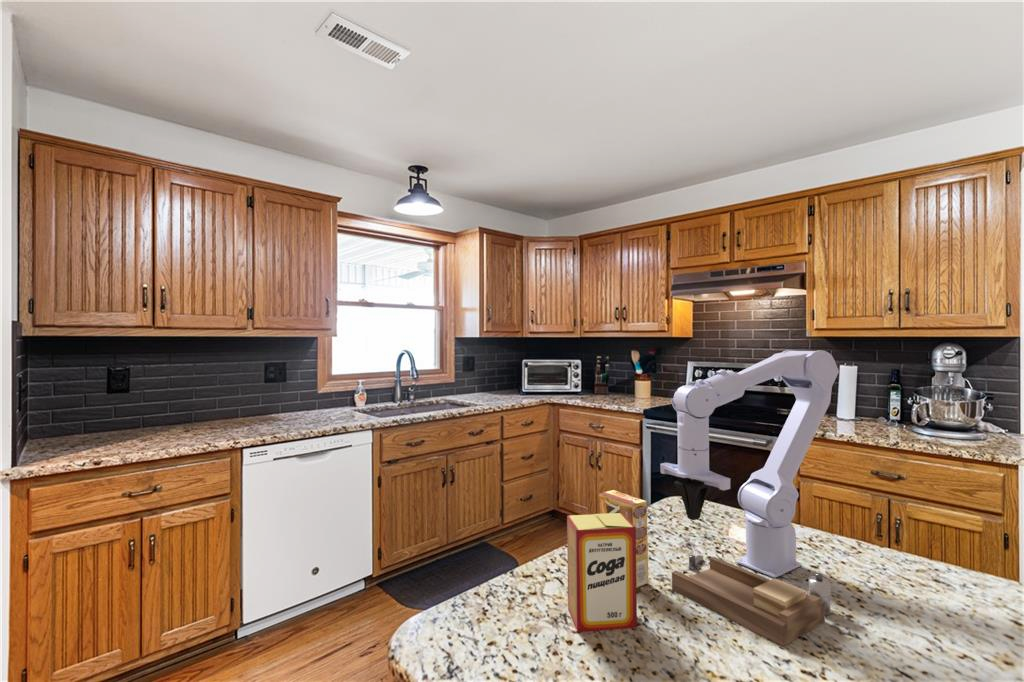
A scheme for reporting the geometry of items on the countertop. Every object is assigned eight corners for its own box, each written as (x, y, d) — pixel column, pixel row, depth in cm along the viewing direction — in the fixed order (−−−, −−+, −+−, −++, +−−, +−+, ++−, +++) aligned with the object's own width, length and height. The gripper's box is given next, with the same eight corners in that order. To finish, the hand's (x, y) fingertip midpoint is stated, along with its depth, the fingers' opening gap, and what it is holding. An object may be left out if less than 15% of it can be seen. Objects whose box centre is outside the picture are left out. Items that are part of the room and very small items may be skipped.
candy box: (649, 583, 90) (648, 500, 90) (633, 590, 88) (632, 504, 88) (614, 566, 98) (613, 489, 98) (599, 571, 95) (598, 492, 95)
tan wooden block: (775, 602, 81) (775, 578, 81) (807, 616, 77) (806, 590, 77) (753, 613, 78) (752, 588, 78) (784, 628, 74) (784, 602, 74)
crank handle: (697, 559, 101) (697, 546, 101) (703, 561, 100) (703, 547, 100) (688, 570, 96) (688, 556, 96) (694, 571, 95) (694, 557, 95)
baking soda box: (577, 632, 75) (576, 527, 76) (568, 609, 82) (567, 513, 82) (636, 627, 76) (635, 524, 76) (623, 605, 83) (621, 510, 83)
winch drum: (814, 604, 83) (814, 568, 83) (834, 612, 80) (833, 575, 80) (805, 609, 81) (804, 572, 81) (824, 617, 79) (824, 580, 79)
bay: (713, 572, 95) (713, 551, 95) (825, 621, 78) (824, 595, 78) (672, 589, 88) (671, 566, 88) (783, 646, 71) (782, 618, 71)
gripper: (649, 443, 99) (650, 511, 99) (713, 457, 87) (713, 534, 86) (673, 440, 103) (673, 505, 102) (737, 452, 90) (737, 526, 90)
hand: (693, 518), depth 95 cm, fingers closed
